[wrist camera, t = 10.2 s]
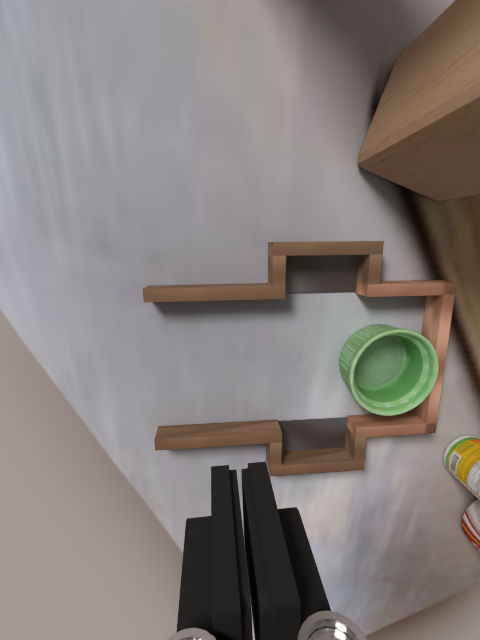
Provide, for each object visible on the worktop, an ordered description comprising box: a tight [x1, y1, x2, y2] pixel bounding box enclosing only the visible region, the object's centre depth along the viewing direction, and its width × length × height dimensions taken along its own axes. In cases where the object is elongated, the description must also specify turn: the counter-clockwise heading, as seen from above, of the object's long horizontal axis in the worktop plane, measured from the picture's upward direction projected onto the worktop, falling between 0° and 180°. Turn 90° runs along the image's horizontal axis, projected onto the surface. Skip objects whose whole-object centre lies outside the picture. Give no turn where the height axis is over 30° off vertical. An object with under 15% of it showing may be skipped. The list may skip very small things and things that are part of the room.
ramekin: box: [339, 324, 439, 416], centre depth 34 cm, size 9×9×4 cm
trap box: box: [143, 241, 456, 476], centre depth 34 cm, size 24×30×2 cm
